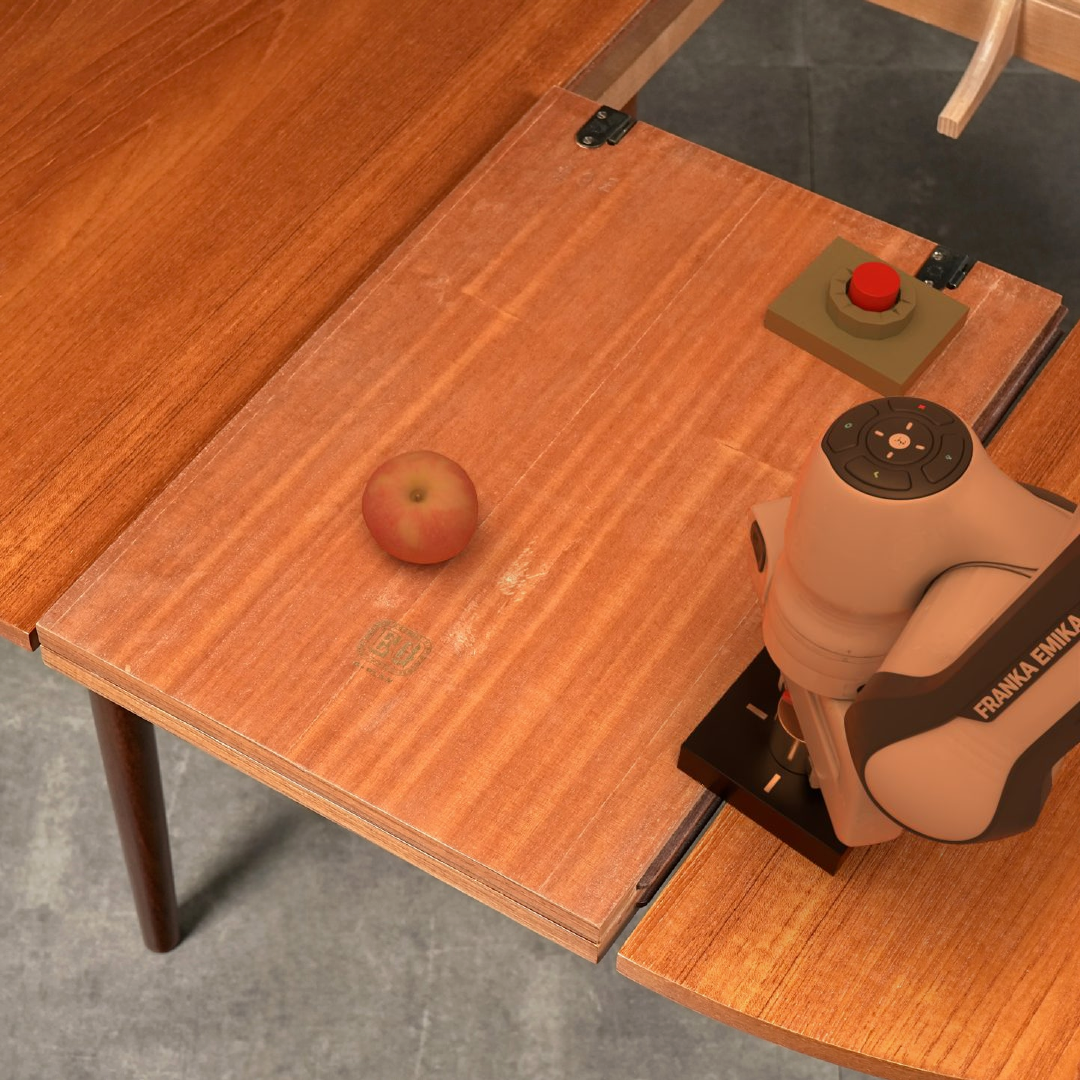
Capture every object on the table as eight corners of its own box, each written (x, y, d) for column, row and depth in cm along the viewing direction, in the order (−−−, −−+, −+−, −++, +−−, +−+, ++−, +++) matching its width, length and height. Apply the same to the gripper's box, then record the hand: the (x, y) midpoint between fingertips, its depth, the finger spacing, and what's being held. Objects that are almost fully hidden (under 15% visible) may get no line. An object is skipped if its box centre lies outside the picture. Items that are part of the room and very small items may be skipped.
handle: (852, 739, 107) (864, 705, 104) (814, 788, 105) (825, 755, 102) (794, 700, 109) (804, 666, 105) (755, 748, 107) (764, 714, 103)
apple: (347, 563, 118) (338, 495, 111) (397, 484, 122) (392, 413, 115) (450, 605, 116) (447, 538, 109) (497, 522, 120) (498, 453, 113)
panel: (917, 764, 110) (927, 741, 107) (833, 877, 105) (841, 855, 102) (763, 663, 114) (769, 638, 111) (676, 767, 109) (680, 744, 106)
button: (905, 292, 128) (909, 276, 127) (879, 319, 127) (884, 303, 125) (864, 270, 130) (868, 254, 128) (839, 297, 128) (843, 281, 127)
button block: (963, 327, 131) (975, 291, 128) (896, 403, 127) (906, 368, 124) (833, 255, 136) (841, 218, 132) (763, 327, 131) (770, 291, 128)
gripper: (961, 771, 89) (908, 879, 101) (844, 467, 101) (808, 595, 112) (846, 792, 88) (806, 898, 100) (741, 483, 100) (716, 610, 111)
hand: (806, 735), depth 106 cm, fingers closed on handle, 4 cm apart
